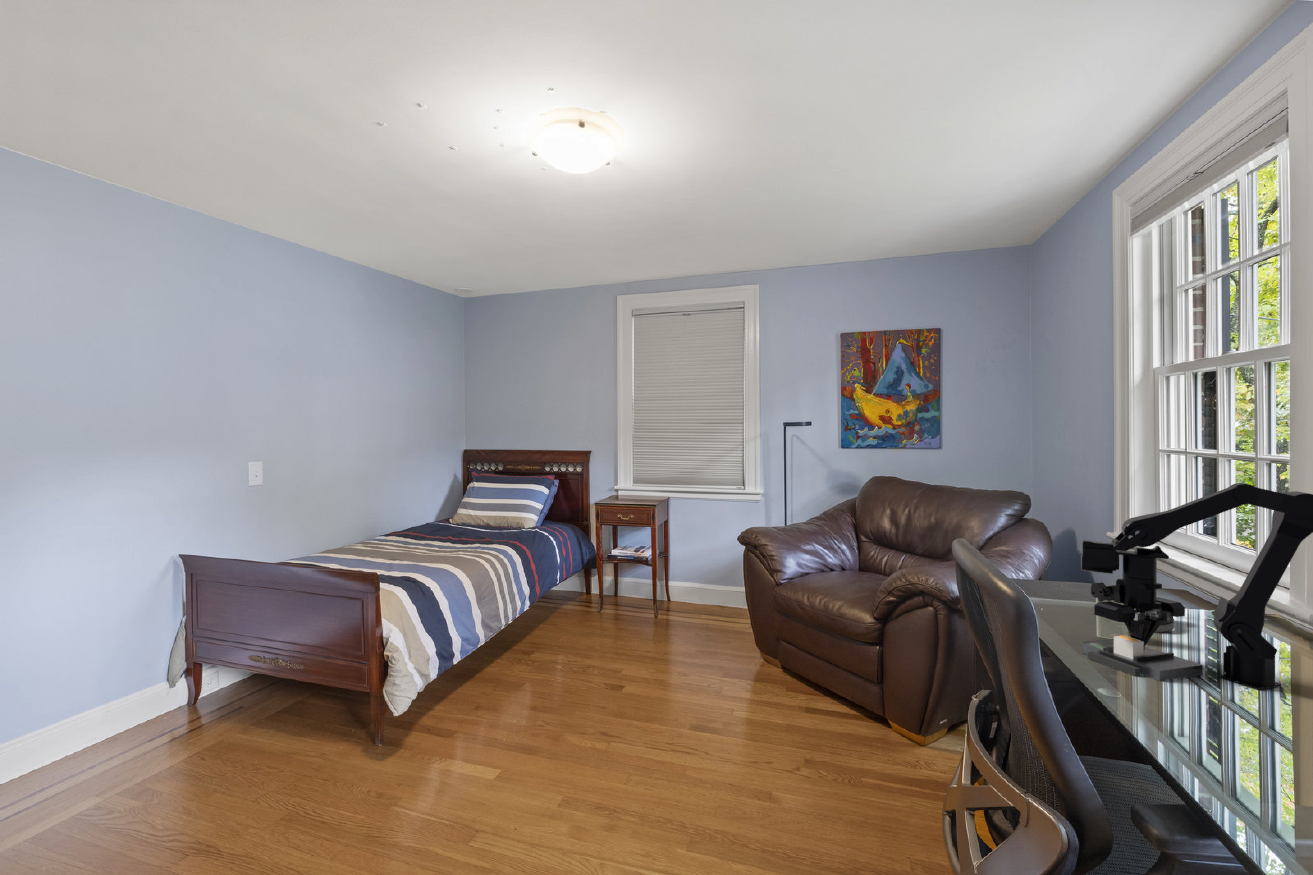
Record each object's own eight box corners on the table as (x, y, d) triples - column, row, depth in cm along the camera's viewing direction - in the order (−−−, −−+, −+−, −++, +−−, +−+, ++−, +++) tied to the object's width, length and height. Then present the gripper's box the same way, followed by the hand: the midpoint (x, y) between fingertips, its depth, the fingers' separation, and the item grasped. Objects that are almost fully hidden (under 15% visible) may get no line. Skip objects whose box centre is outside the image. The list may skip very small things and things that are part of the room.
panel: (1202, 674, 120) (1202, 661, 120) (1159, 680, 117) (1159, 666, 117) (1122, 647, 136) (1122, 635, 136) (1082, 652, 133) (1082, 640, 133)
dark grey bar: (1140, 675, 120) (1140, 668, 120) (1135, 676, 120) (1135, 669, 120) (1092, 657, 130) (1092, 651, 130) (1087, 658, 129) (1087, 652, 129)
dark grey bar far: (1122, 646, 137) (1122, 640, 137) (1089, 650, 134) (1089, 644, 134) (1116, 644, 138) (1116, 638, 138) (1083, 648, 136) (1083, 642, 136)
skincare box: (1130, 638, 142) (1130, 588, 142) (1128, 643, 139) (1128, 591, 139) (1097, 632, 147) (1098, 583, 147) (1095, 636, 144) (1095, 587, 144)
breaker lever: (1143, 658, 124) (1143, 640, 124) (1133, 659, 123) (1133, 641, 123) (1124, 651, 128) (1124, 633, 128) (1113, 652, 127) (1113, 635, 127)
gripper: (1132, 566, 137) (1132, 633, 137) (1070, 570, 132) (1069, 640, 132) (1187, 577, 126) (1186, 650, 126) (1121, 582, 121) (1120, 658, 121)
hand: (1138, 649), depth 127 cm, fingers closed
